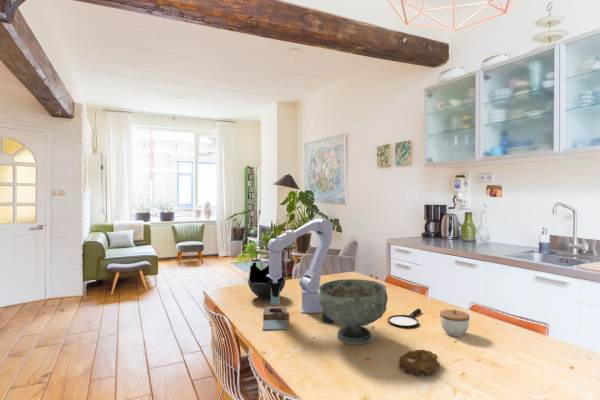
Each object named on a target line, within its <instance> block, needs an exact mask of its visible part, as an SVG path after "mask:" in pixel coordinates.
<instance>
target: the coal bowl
mask: <svg viewBox="0 0 600 400" xmlns="http://www.w3.org/2000/svg"><path fill="white" fill-rule="evenodd" d="M249 270H250V272H249V277H248V279H247V284H248V287H249V289H250V292H252V293H253V295H255V296H256V297H258V298H261V299H271V286H270V284H269V281H270V280H269V277H267V275H269V264H268V265H267V266H265V267H264V268H263V269H260V268H259V267H258V266H257V262H255V261H254V262H253V263H252V264H251V266H250V268H249ZM281 278H282V279H281V281H282V283H281V285H280V293H281V292H282V291H283V289H284V288H285V285H286V281H287V280H286V277H284V274H283V272H282V277H281Z"/></svg>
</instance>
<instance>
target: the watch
mask: <svg viewBox="0 0 600 400" xmlns="http://www.w3.org/2000/svg"><path fill="white" fill-rule="evenodd" d="M321 313H322V314H321V321H322V322H325V323H326V324H331V323H335V322H334V321H333V320H331V319H330V318H328V316H327V315H326V314H325V313H324V312H321Z"/></svg>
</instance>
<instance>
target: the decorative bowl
mask: <svg viewBox="0 0 600 400" xmlns="http://www.w3.org/2000/svg"><path fill="white" fill-rule="evenodd" d="M318 291H319V292H320V295H319V301H320V304H321V307H322V312H323V313H325V314H326V315H327V316H328V318H330V319H331V320H333V321H334V322H333V323H336V324H338V325H341V326H342V327H341V328H339V330H338V331H337V332H336V333H337V339H338V340H339V341H340V342H342V343H345V344H348V345H349V344H350V345H364V344H367V343H369V342H371V341H372V340H373V334H372V332H371V331H370V330H369V329H367V328H365V326H368V325H371V324H372V323H375V322H376V321H378V320H379V319H382V317H383V316H384V314H385V313H386V311H387V305H388V299H389V298H388V292H387V286H386V284H383V283H381V282H378V281H374V280H369V279H359V278H358V279H357V278H354V279H353V278H351V279H348V278H347V279H346V278H345V279H335V280H331V281H327V282H324V283H322V284H321V285H320V287H319V290H318Z"/></svg>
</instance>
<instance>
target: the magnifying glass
mask: <svg viewBox="0 0 600 400" xmlns="http://www.w3.org/2000/svg"><path fill="white" fill-rule="evenodd" d="M421 312H422V309H420V308H416V309H415V310H413V311H412V312H411V313H410V314H408V315H407V314H396V315H391V316H388V318H387V323H388V324H389V325H390V326H392V327H396V328H399V329H414V328H417V327H418V326H419V320H418V319H417V318H416V317H417V316H418V315H420V314H421Z"/></svg>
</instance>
